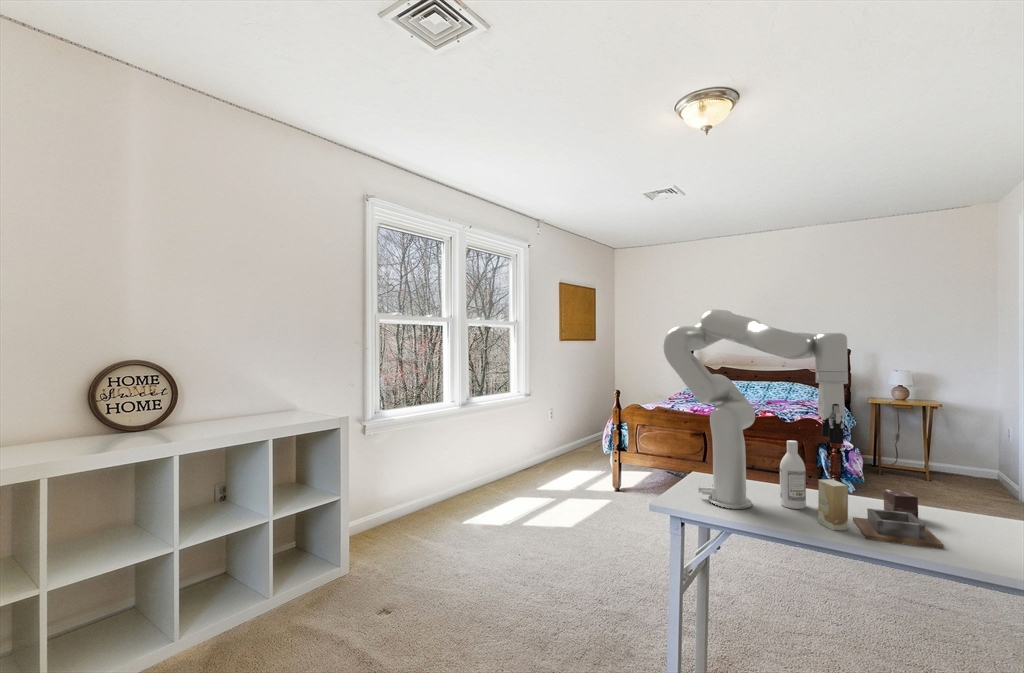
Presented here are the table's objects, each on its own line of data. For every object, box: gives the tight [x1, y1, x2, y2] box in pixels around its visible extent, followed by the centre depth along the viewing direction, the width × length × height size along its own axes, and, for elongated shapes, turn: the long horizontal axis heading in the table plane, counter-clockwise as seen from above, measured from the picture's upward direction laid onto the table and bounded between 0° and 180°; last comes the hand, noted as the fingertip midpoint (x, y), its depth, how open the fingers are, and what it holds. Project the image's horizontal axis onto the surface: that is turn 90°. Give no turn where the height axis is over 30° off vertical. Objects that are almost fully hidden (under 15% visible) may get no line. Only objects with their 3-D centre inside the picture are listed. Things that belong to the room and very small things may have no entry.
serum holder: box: [852, 507, 945, 549], centre depth 132 cm, size 16×14×4 cm
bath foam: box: [779, 439, 807, 510], centre depth 155 cm, size 7×7×20 cm
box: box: [883, 489, 919, 520], centre depth 143 cm, size 6×6×7 cm
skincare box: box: [817, 478, 849, 531], centre depth 138 cm, size 6×4×12 cm
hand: (832, 439), depth 138 cm, fingers open, 9 cm apart
